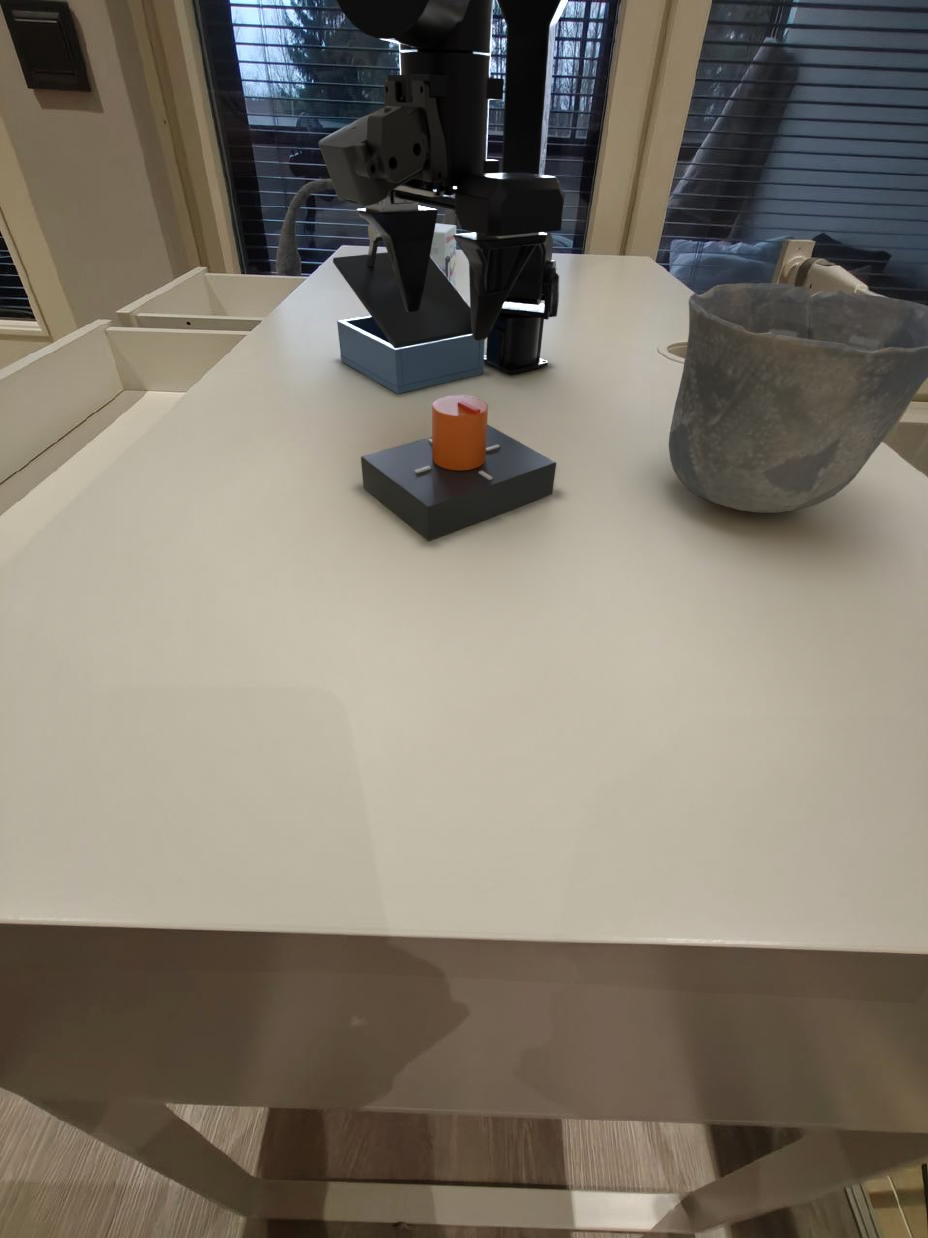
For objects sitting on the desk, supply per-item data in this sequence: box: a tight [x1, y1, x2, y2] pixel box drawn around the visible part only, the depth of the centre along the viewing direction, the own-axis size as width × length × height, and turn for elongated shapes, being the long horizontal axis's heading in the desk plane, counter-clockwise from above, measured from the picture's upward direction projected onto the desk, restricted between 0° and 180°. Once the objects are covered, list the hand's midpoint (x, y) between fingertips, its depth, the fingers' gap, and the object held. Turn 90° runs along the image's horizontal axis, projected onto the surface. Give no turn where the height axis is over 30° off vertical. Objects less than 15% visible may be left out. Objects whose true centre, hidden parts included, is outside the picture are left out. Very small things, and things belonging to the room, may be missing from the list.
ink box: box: [430, 222, 457, 290], centre depth 90 cm, size 9×5×12 cm, turn 168°
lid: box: [332, 223, 472, 349], centre depth 67 cm, size 14×13×5 cm
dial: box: [431, 394, 489, 471], centre depth 48 cm, size 4×4×5 cm
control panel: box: [360, 424, 557, 542], centre depth 50 cm, size 13×10×3 cm
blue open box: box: [336, 315, 486, 395], centre depth 73 cm, size 14×13×5 cm
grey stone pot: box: [668, 282, 928, 513], centre depth 47 cm, size 18×18×15 cm
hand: (444, 324), depth 47 cm, fingers open, 9 cm apart
